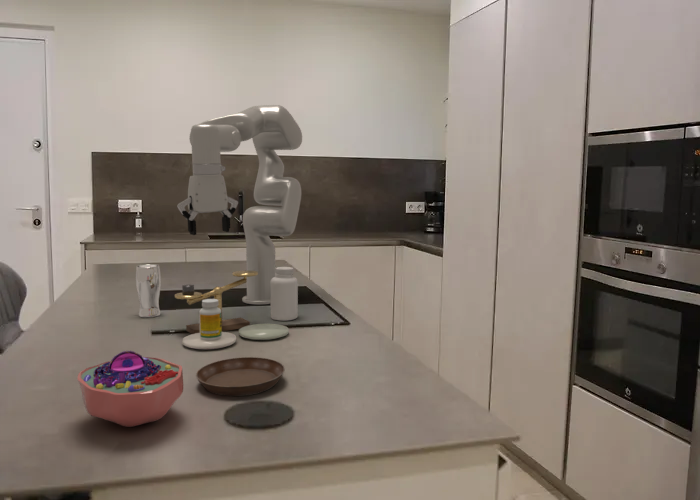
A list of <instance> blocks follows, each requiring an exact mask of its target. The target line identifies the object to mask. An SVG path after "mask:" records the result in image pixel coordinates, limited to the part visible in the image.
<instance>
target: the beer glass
mask: <svg viewBox="0 0 700 500" xmlns="http://www.w3.org/2000/svg"><path fill="white" fill-rule="evenodd" d="M135 268H136V269H135V270H136V271H135V286H136V290H137V296H138V301H139V311H138V317H140V318H143V319H144V318H145V319H146V318H147V319H149V318H156V317H159V316H160V315H161V311H160V305H159V300H160V293H161V283H162V282H161V281H162V280H161V279H162V277H161V269H160V265H159V264H151V263H149V264H139V265H136V266H135Z"/></svg>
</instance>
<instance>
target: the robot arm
mask: <svg viewBox="0 0 700 500" xmlns="http://www.w3.org/2000/svg"><path fill="white" fill-rule="evenodd" d="M249 140H252V143H253V146H254V149H255V152H256V155H257V157H258V171H257V174H256V179H255V184H254V189H253V199H254V201H255V202H256V203H257V204H258V205H256V206H255V205H254V206H251V207H249V208H246V210H244V212H243V214H242V225H243V231H244V237H245V245H246V247H245V250H246V251H245V252H246V254H245V255H246V256H245V257H246V262H245V263H246V271H257V272H258V275H256V276H250V277H247V280H246V281H247V282H246V295H245V296H243V297H242V298H241V299H242V303H244V304H248V305H260V306H261V305H271V279H272V278H273V277H276V275H275V274H276V273H275V268H276V247H275V244H274V242H273V240H272V239H271V238H270V236H272V237H273V236H274V237H289V236H291V235H292V234H293V233H294V232H295V230H296V227H297V226H296V225H297V221H298V216H299V211H300V206H301V201H302V186H301V183H300V181H299V180H298V179H296V178H294V177H291V176H284V172H285V164H284V163H283V161H282V159H281V157H280V156H279V155H278V153H276V151H291V150H292V151H293V150H297V149H298V148H299V147H300V146H302V142H303V132H302V130H301V127H300V126H299V124H298V122H297V121H296V120H295V119H294V116H293V115H292V114H291V113H290V111H289V110H288V109H287V108H285V106H282V105H280V104H271V105H270V104H269V105H267V104H266V105H265V104H264V105H262V104H261V105H253V106H251V107H248V108H246V109H244V110H241V111H240V112H237V113H234V114H229V115H225V116H221V117H216V118H212V119H208V120H205V121H202V122H200V123H198V124H194V125H192V126H191V129H190V132H189V143H190V145H191V157H192V158H191V159H192V175H190V176H189V180H188V189H187V198H186V199H184V200H183V201H180V202H179V203H178V204H177V206H176V207H177V209H178V211H179V212H180V215H182V216H183V217H184V218H185V220H187V232H188V233H189V234H190V236H191V235H192V236H196V235H197V221H196V220H195V218H196V217H197V215H198V214H202V213H204V214H205V213H218V212H219V213H221V214H222V215H223V216H222V218H221V226H222V227H221V228H222V229H221V230H222V232H226V233H229V232H230V229H231V218H232V216H233V214H234V213H235V212H236V209H237V207H238V204H239V201H238V200H236V199H234V198H232V197H230V196H228V194H227V193H228V192H227V185H226V181H225V177H224V175H222V174H223V171H224V172H225V171H226V166H225V165H223V164H222V163H221V159H222V158H221V152H222V153H229V152H233V151H236V150H237V149H239V147H240V146H241V143H242V142H247V141H249ZM228 203H229V204H230V207H229V208H228V206H229V204H228ZM186 206H187V209H188V211H187V210H186Z"/></svg>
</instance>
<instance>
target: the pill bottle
mask: <svg viewBox="0 0 700 500" xmlns="http://www.w3.org/2000/svg"><path fill="white" fill-rule="evenodd" d="M275 273H276V274H275V275H276V277H273V278H272V279H271V304H270V318H271V319H272V320H274V321H284V322H285V321H293V320H295V319H297V318H298V314H299V312H298V311H299V310H298V309H299V307H298V305H299V303H298V301H299V299H298V298H299V297H298V295H299V293H298V291H299V286H298V279H297V277H295V276H293V275H294V267H292V266H291V267H290V266H277V267H275Z"/></svg>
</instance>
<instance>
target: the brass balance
mask: <svg viewBox="0 0 700 500" xmlns="http://www.w3.org/2000/svg"><path fill="white" fill-rule="evenodd" d="M231 275H232V276H233V277H236V278H237V277H239V278H241V277H243V278H241V279H238V280H236V281H234V282H231V283H228V284H226V285H223V286H215V287H214V288H213V290H211V291H207V292H204V293H202V292H198V291H195V285H194V284H191V283H190V284H182V286H181V290H182V291H181V292H177V293H175V294H174V298H175V299H177V300H186V303H187V304H188V305H189V306H191V305H194V304H196V303H198V302H202V300H205V299H210V298H211V297H213V299H217V300H218V304H219V305H218V306H217V307H218V308H220V309H221V327H222V332H226V331H233V330H239V329H240V328H242V327H245V326H248V325H251V322H250V321H249V320H247V319H246V318H242V317H235V318H228V319H223V301H222V300H223V299H222V294H223V292H226V291H229V290H231V289H234V288H236V287H240V286H242V285H244V284H247V277H250V276H256V275H258V272H257V271H247V270H236V271H233V272H232V274H231ZM185 330H186V332H188V333H190V335H191V334H195V333H200V322H199V323H191V324H186V325H185Z"/></svg>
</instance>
